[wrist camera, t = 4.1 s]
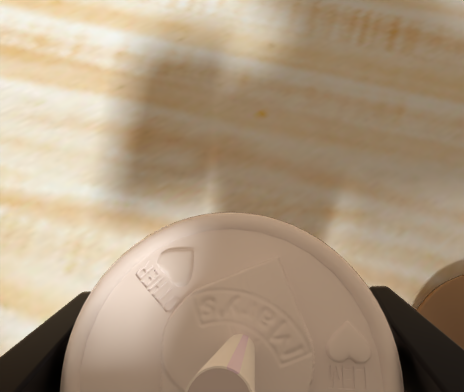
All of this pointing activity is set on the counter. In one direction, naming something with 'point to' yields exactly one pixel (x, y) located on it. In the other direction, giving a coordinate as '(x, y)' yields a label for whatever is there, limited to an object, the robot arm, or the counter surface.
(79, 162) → the counter surface
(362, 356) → the smoothie
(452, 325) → the disc
